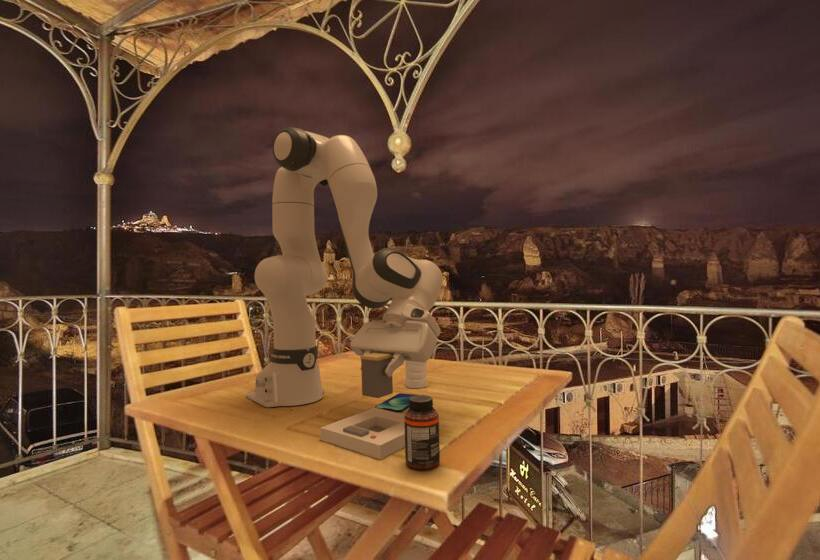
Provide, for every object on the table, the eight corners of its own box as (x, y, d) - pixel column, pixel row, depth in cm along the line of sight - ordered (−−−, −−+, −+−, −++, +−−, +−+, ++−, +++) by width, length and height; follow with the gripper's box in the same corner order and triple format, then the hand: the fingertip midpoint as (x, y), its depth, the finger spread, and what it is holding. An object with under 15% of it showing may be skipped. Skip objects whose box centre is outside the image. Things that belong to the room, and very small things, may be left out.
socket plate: (320, 440, 83) (320, 424, 83) (374, 418, 95) (374, 405, 95) (380, 459, 73) (380, 442, 73) (431, 432, 86) (431, 417, 86)
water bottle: (402, 388, 123) (401, 303, 123) (408, 383, 129) (407, 302, 129) (431, 389, 120) (430, 303, 121) (436, 384, 127) (434, 302, 127)
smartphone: (424, 395, 113) (400, 410, 99) (424, 398, 113) (401, 414, 99) (399, 393, 116) (373, 407, 102) (399, 396, 116) (373, 411, 102)
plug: (361, 395, 84) (360, 355, 84) (376, 390, 87) (375, 352, 87) (378, 398, 81) (377, 357, 81) (393, 393, 85) (392, 354, 85)
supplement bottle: (412, 454, 75) (411, 391, 75) (444, 459, 73) (442, 394, 73) (399, 468, 69) (398, 400, 69) (433, 473, 67) (432, 403, 67)
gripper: (362, 310, 96) (331, 359, 88) (435, 312, 84) (406, 369, 76) (375, 328, 100) (347, 376, 92) (447, 331, 87) (422, 388, 79)
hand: (374, 373), depth 84 cm, fingers closed on plug, 4 cm apart
